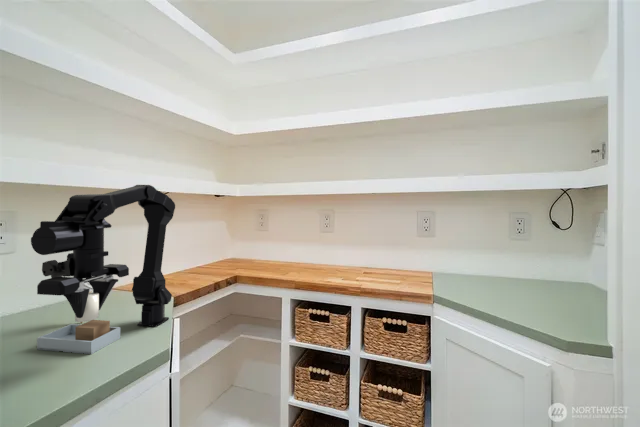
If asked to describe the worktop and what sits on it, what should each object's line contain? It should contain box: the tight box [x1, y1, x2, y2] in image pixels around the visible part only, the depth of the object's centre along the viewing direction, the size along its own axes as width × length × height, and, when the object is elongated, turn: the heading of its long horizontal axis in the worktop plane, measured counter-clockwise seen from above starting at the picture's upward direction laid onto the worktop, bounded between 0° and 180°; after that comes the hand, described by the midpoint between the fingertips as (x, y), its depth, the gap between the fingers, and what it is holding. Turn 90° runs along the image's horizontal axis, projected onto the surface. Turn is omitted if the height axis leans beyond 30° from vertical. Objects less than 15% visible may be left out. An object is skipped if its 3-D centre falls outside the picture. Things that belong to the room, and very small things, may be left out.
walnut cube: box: [75, 319, 111, 341], centre depth 76 cm, size 5×5×5 cm
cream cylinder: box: [74, 291, 100, 323], centre depth 69 cm, size 4×4×6 cm
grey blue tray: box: [36, 323, 121, 355], centre depth 77 cm, size 9×15×3 cm, turn 84°
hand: (88, 313), depth 69 cm, fingers closed on cream cylinder, 4 cm apart
